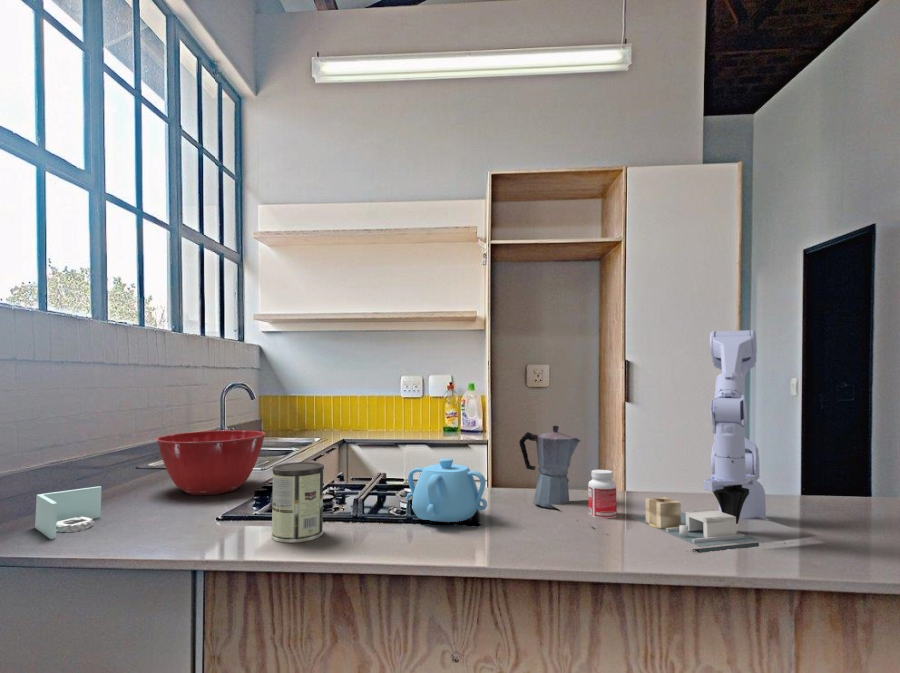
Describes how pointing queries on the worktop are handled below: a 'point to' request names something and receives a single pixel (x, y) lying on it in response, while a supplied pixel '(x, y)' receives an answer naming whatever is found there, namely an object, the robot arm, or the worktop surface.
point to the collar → (663, 512)
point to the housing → (711, 522)
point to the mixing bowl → (210, 459)
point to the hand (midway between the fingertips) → (731, 523)
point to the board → (698, 536)
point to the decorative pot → (446, 492)
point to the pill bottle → (602, 495)
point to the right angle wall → (67, 510)
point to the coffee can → (297, 502)
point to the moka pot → (551, 465)
